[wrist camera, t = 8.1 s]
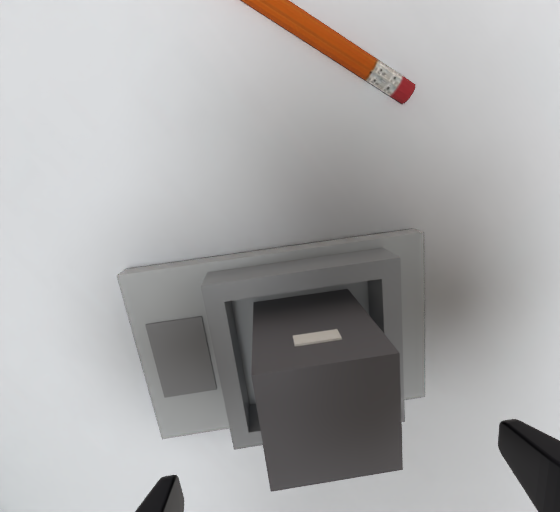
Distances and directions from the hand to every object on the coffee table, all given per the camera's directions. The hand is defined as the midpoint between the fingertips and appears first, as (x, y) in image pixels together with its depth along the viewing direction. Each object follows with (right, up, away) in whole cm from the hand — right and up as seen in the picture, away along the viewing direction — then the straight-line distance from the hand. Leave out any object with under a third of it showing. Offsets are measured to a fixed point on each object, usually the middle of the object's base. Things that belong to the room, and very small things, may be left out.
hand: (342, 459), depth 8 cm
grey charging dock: (-2, +2, +8) cm, 8 cm away
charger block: (0, +2, +7) cm, 7 cm away
